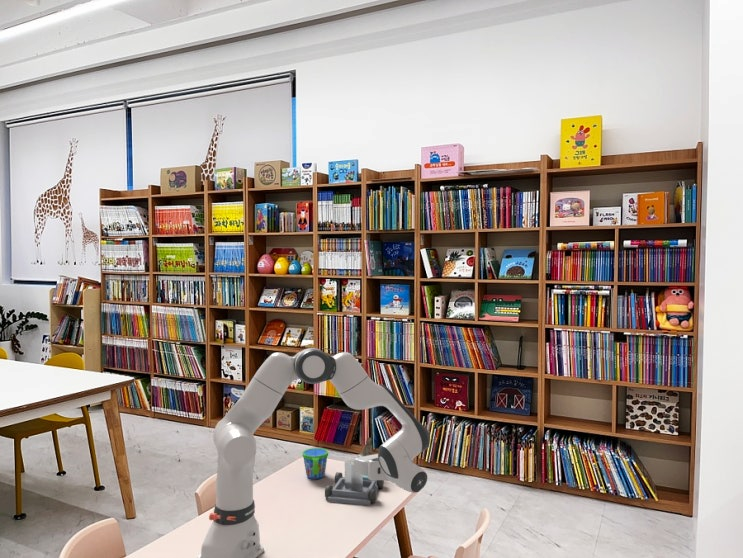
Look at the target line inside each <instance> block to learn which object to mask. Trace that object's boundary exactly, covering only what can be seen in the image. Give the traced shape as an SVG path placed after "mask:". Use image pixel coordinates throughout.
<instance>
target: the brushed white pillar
mask: <svg viewBox="0 0 743 558" xmlns="http://www.w3.org/2000/svg"><path fill="white" fill-rule="evenodd" d="M354 459H355V458H353V459H349V460H346V461H344V477H345V490H348V491H359V492H363V475H362V474H360V473H359V472H357V471H356V470H355V469H354Z"/></svg>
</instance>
